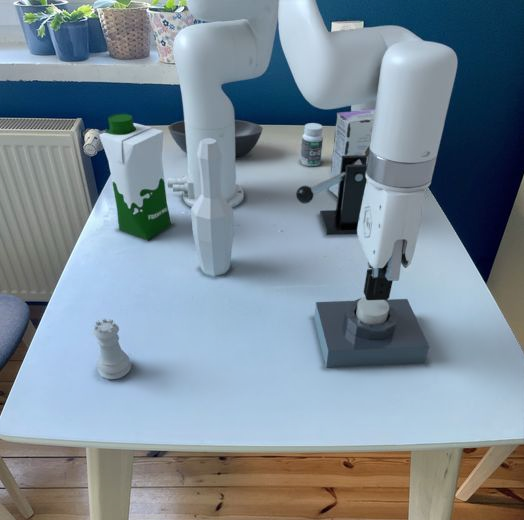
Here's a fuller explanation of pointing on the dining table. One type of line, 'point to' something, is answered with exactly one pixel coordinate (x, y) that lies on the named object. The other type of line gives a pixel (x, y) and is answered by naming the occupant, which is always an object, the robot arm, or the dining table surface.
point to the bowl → (244, 136)
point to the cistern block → (369, 336)
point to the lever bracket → (347, 198)
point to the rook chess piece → (110, 351)
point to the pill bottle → (312, 145)
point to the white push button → (372, 311)
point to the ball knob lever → (320, 186)
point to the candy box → (351, 138)
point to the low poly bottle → (212, 213)
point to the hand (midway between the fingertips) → (375, 296)
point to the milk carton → (137, 176)
